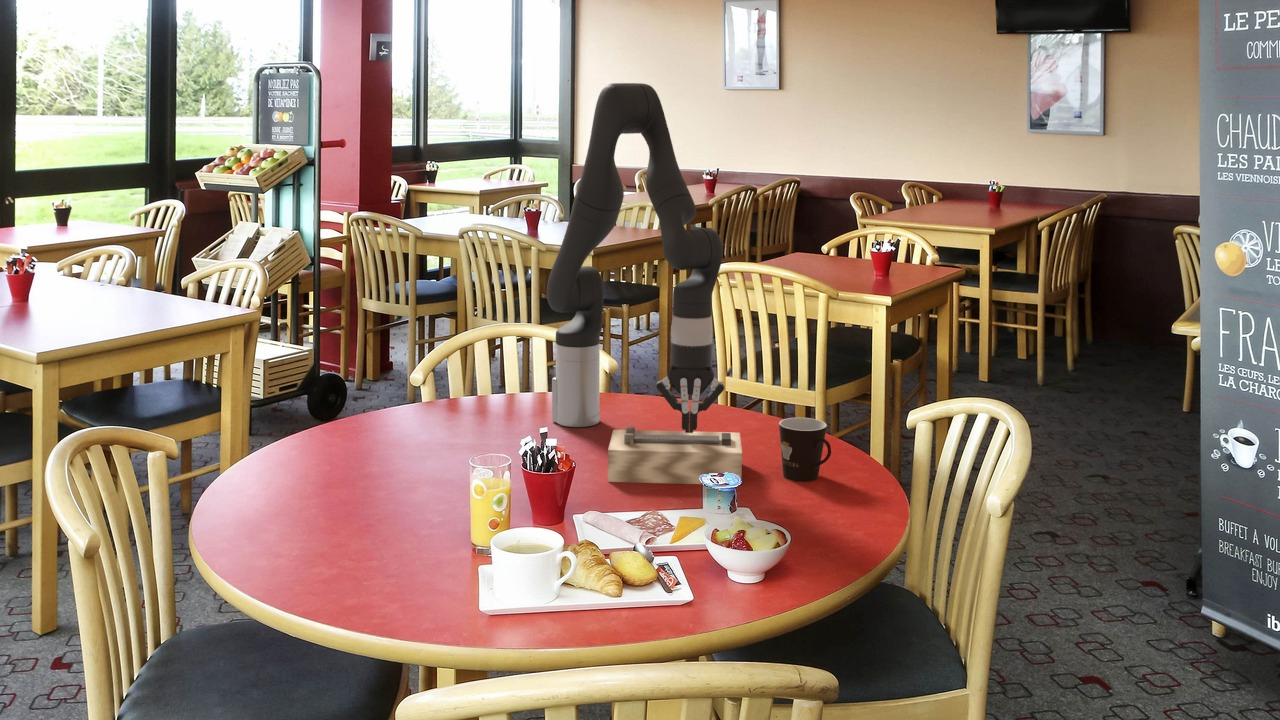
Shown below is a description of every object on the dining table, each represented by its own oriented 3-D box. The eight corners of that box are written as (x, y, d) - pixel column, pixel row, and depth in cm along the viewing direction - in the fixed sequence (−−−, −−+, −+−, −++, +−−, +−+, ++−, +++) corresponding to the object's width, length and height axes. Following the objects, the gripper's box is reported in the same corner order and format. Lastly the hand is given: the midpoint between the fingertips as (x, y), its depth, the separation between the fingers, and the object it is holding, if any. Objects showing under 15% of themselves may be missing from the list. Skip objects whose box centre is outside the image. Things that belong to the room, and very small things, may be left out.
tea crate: (607, 481, 208) (608, 440, 207) (613, 459, 221) (613, 420, 219) (741, 485, 207) (742, 443, 205) (738, 462, 220) (739, 423, 218)
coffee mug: (772, 469, 216) (774, 417, 214) (818, 468, 217) (820, 417, 215) (785, 489, 205) (787, 435, 203) (833, 489, 206) (835, 435, 203)
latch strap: (631, 441, 212) (631, 438, 211) (632, 437, 214) (632, 434, 214) (719, 443, 211) (719, 440, 211) (719, 439, 214) (719, 435, 214)
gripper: (654, 343, 205) (652, 436, 209) (728, 345, 204) (725, 438, 208) (655, 334, 212) (654, 425, 216) (727, 336, 212) (724, 427, 216)
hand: (689, 431), depth 212 cm, fingers closed
